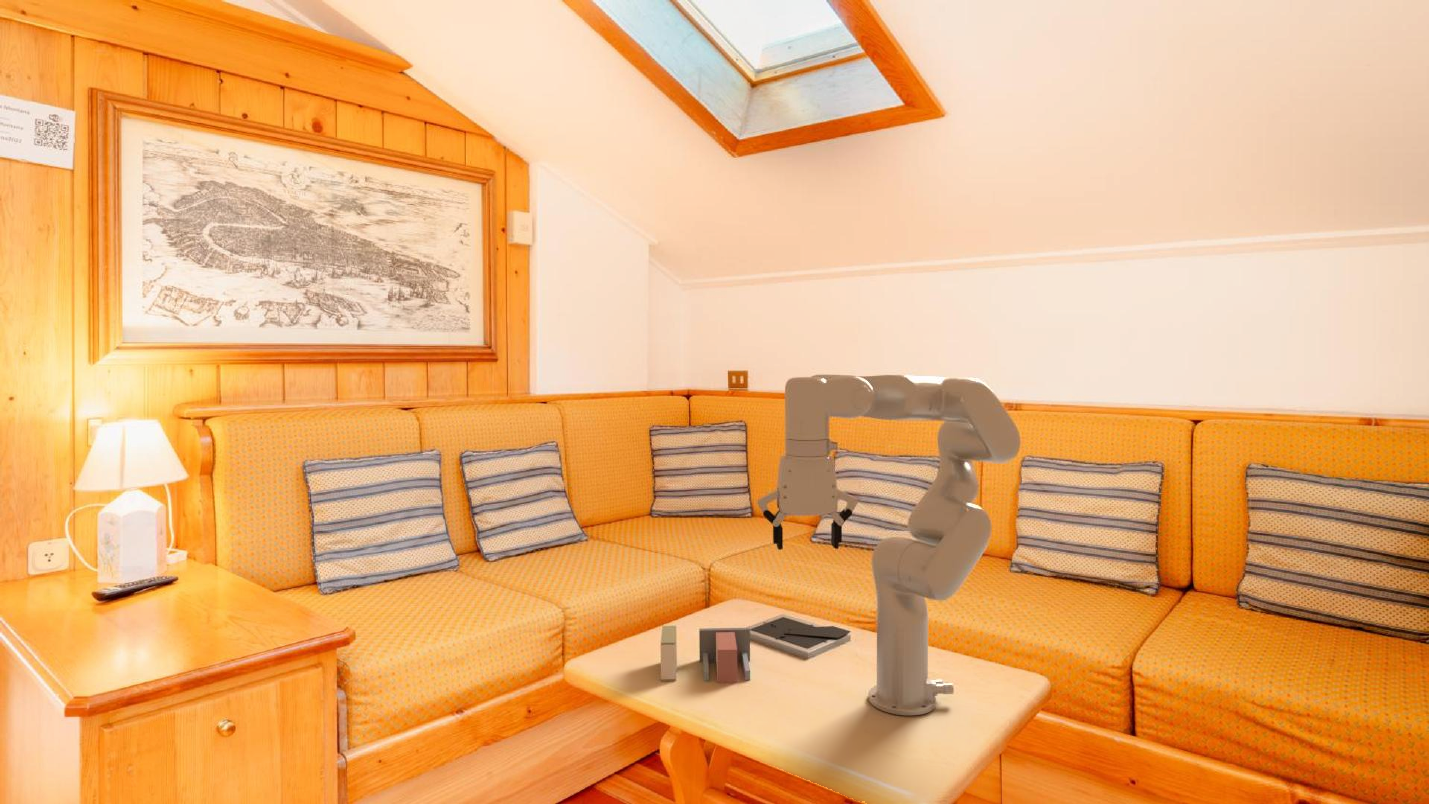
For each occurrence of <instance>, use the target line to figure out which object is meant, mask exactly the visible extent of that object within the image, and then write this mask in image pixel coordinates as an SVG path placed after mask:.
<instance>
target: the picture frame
mask: <svg viewBox="0 0 1429 804" xmlns="http://www.w3.org/2000/svg"><path fill="white" fill-rule="evenodd" d="M745 628H750V641H754V642H756V643H759V644H762V645H765V646H768V647H771V648H774V649H777V650H780V651H783V652H784V653H785V652H786V653H788V654H792V655H793V656H798V657H800V658H802V659H803V658H804V659H805V660H810V659H813V658H815V657H817V656H819V655H821V654H823V653H826V652H828V651H830V650H833V649H834V648H835V649H836V648H837V647H840V646H841V645H844V644H845V643H848V642H850V641H851V636H852V635H851V630H848V629H845V628H840V627H837V626H835V625H830V626H828V625H827V626H824V625H822V624H821V625H820V624H817V623H813V622H811V621H807V620H803V619H800V618H796V617H793V616H790V615H787V614H783V613H782V614H779V615H777V616H774V617H771V618H768V619H765V620H762V621H760V622H758V623H755V624H752V625H749V626H747V627H745Z"/></svg>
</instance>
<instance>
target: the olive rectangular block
mask: <svg viewBox="0 0 1429 804" xmlns="http://www.w3.org/2000/svg"><path fill="white" fill-rule="evenodd" d="M661 628H662V629H661V637H660V639H661V640H660V681H661V682H676V681H677V668H678V667H677V665H678V663H677V662H678V660H677V658H678V653H677V651H678V649H677V625H662V626H661Z"/></svg>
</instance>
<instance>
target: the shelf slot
mask: <svg viewBox="0 0 1429 804" xmlns="http://www.w3.org/2000/svg"><path fill="white" fill-rule="evenodd" d="M698 632H699V634H698V637H699V646H698V647H699V663H702V665H703V670H702V671H703V681H704V682H710V674H709V673H710V672H709V671H710V670H709V668H710V667H709V663H711V662H712V663H716V633H717V632H735V639H736V646H737V662H742V669H743V673H744V674H743V675H744V679H745V681H750V680H751V667H750V663H749V662H750V661H751V640H750V628H746V627H720V628H719V627H717V628H715V627H713V628H711V627H710V628H699V631H698Z"/></svg>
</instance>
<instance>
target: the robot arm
mask: <svg viewBox="0 0 1429 804" xmlns="http://www.w3.org/2000/svg"><path fill="white" fill-rule="evenodd" d="M860 417H863V418H864V417H865V418H870V419H877V420H884V421H885V420H887V421H899V422H900V421H906V422H907V421H921V422H922V421H924V422H926V421H930V422H931V421H933V422H935V421H936V422H937V421H939V422H943V423H941V425H940V427H939V429H938V432H937V449H938V454H939V455H938V457H939V470H938V473H937V476H936V477H935V479H934V480H933V482H932V484H931V485H930V486H929V487H928V489H927V490H926V492H925V493H924V494H923V496H922V497H921V498H920V500H919V501H918V502H917V504H916V505H915V507H914V508H913V509H912V510H911V513H910V515H909V517H908V521H907V530H908V533H909V534H910V536H911V537H912V538H913V539H911V538H908V537H903V536H889V537H886V538H885V539H882V540H880V541H879V543H878V544H877V545H876V546H875V547H874V550H873V553H872V555H871V556H872V557H871V571H872V576H873V581H874V586H875V595H876V612H877V613H876V685H874V686H873V687H871V688H870V689H869V691H868V701H869V702H870V704H871V705H873V707H874V708H876V709H878V710H880V711H882V712H885V713H889V714H892V715H898V716H912V717H913V716H919V715H924V714H928V713H930V712H931V711H933V710H934V709H935V708H936V706H937V698H936V697H937V696H938V695H939V694H940V695H941V694H942V695H954V685H953V683H950V682H949V683H943V680H942V679H930V678H929V675H928V674H929V610H928V605H927V601H926V599H929V600H933V601H938V602H940V601H941V602H942V601H947V600H948V599H950V598H953V596H954V595H956V594H957V592H958V591H959V590H960V588H961V587H962V586H963V584H964V582H965V581H966V580H967V578H968V577H969V575H970V574H971V572H972V571H973V569H974V568H975V567H976V565H977V564H978V562H979V560H980V559H981V558H982V556H983V555H984V553H985V551H986V550H987V549H988V546H989V542H990V540H991V536H992V522H991V519H990V516H989V514H988V513H987V511H986V510H984V508H982V507H981V506H979V505H977V504H974V502H975V500H976V499H977V497H978V494H979V490H980V487H979V480H978V477H977V474H976V471H975V466H974V462H983V463H991V464H1005V463H1006V464H1007V463H1010V462H1011V461H1012V460H1013V459H1015V458H1016V457H1017V456H1018V454H1019V452H1020V448H1021V435H1020V432H1019V430H1018V427H1017V425H1016V424H1015V421H1014V420H1013V419H1012V417H1011V415H1010V414H1009V413H1008V411H1007V409H1006V408H1005V406H1004V405H1003V404H1002V402H1001V400H1000V399H999V397H998V396H997V395H996V393H995V392H994V391H993V390H992V389H991V388H990V387H989V386H988V384H986V383H985V382H983V381H982V380H981V379H978V378H974V377H947V376H946V377H943V376H925V375H924V376H923V375H907V374H880V375H879V374H878V375H870V376H869V375H868V376H866V375H864V376H862V375H861V376H860V375H859V376H857V375H849V374H815V375H812V376H804V377H803V376H801V377H800V376H797V377H791V378H789V379H788V380H787V381H786V383H785V386H784V429H785V430H784V437H785V438H784V439H785V440H784V447H785V448H784V449H785V450H784V452H785V455H782V456H780V458H779V464H778V469H777V470H778V471H777V483H776V484H777V485H776V489H775V490H773V491H771V492H769V493H767V494H766V495H763V496H761V497H759V498H758V499H757V500H756V503H757V506H758V508H759V509H760V511H761V513H762V515H763V517H764V518H765V519H766V520H767V521H768V522H769V523H771V524H772V543H773V544H774V545H776V547H777V550H780V551H781V550H783V548H784V547H783V545H784V543H783V542H784V539H783V538H784V536H783V535H784V532H783V530H784V529H783V526H782V523H783V521H784V520H785V519H786V517H787V516H793V517H794V516H796V517H798V516H804V517H805V516H807V517H808V516H830V517H831V519H833V520H832V521H833V522H832V523H830V524H831V525H830V527H831V528H830V529H831V530H830V532H831V533H830V534H831V538H830V541H831V542H830V543H831V546H832V547H833V549H836V550H839V548H840V547H839V544H840V543H841V544H842V543H843V528H842V527H843V525H844V524H845V523H846V521H847V520H848V519H849V518H850V517H851V516H852V515H853V512H854V510H855V509H856V506H857V505H858V502H859V500H858V499H857V497H854V496H852V495H850V494H849V493H846V492H844V491H842V490H841V489H838V485H837V474H836V472H837V471H836V467H835V462H834V457H833V456H832V455H831V452H832V451H834V450H836V451H838V447H839V445H838V441H833V440H831V438H830V418H841V419H856V418H857V419H858V418H860ZM838 499H839V500H842V501H844V502H846V505H845V507H844V508H843V509H842V510H841V512H839V513H838V512H837V511H838V506H839V502H838V501H839V500H838ZM775 500H776V506H777V509H778V510H777V511H776V512H775V513H772V512H771V510H770V509H769V507H768V504H770V503H772V502H774V501H775Z"/></svg>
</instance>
